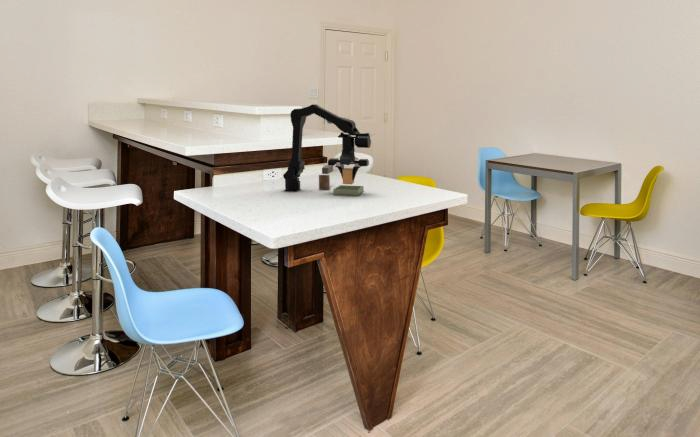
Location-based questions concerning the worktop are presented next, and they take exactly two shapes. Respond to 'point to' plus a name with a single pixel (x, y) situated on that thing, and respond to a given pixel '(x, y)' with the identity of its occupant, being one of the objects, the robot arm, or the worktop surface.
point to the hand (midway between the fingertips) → (348, 180)
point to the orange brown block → (348, 176)
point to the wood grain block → (324, 182)
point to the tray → (348, 190)
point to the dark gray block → (327, 169)
